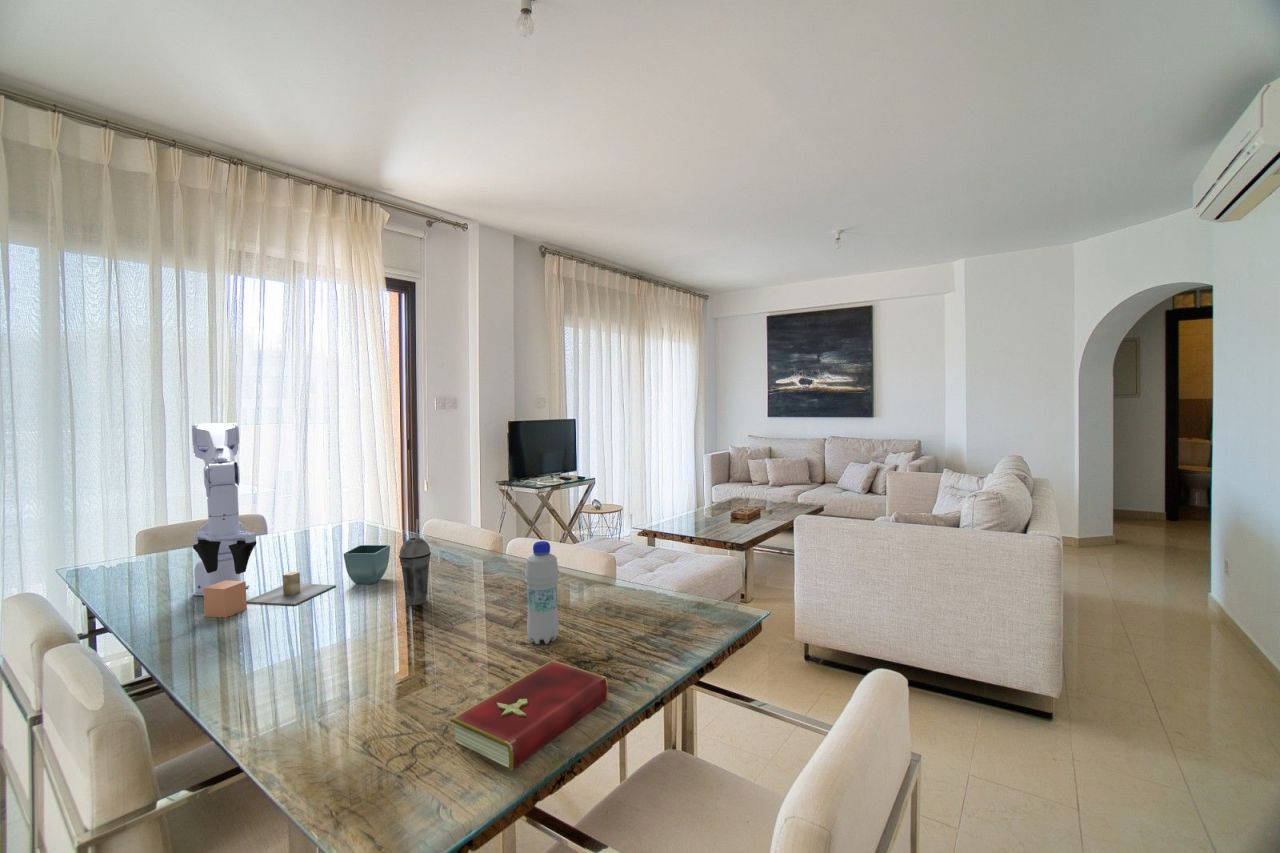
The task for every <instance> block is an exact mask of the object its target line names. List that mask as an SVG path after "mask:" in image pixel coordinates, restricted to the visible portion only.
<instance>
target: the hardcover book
mask: <svg viewBox="0 0 1280 853" xmlns="http://www.w3.org/2000/svg"><path fill="white" fill-rule="evenodd" d="M609 690H610V689H609V682H608V678H607V676H604V675H601V674H598V673H595V672H592V671H589V670H585V669H582V668H579V667H576V666H573V665H571V664H566V663H564V662H562V661H561V662H560V661H557V660H554V659H551V660H550V661H548V662H546V663H544V664H543V665H541V666H540V667H539V666H538V667H537V668H536V669H534V670H532V671H531V672H528V673H527V674H525V675H523V676H522V677H520V678H519V679H517V680H514V681H513V682H512V683H509V684H508V685H506V686H505V687H502V688H501V689H499V690H498V691H496V692H494V693H492V694H491V695H489V696H487V697H486V698H484V699H482V700H480V701H479V702H476V703H475V704H473V705H472V706H470V707H468V708H466V709H464V710H462V711H461V712H459V713H458V714H456V715H454V716H452V717H451V718H450V722H451V723H454V736H455V743H457V744H459V745H461V746H462V747H463V746H464V747H465V748H467V749H469V750H472V751H473V752H475V753H478V754H480V755H482V756H483V757H486V758H487V759H489V760H491V761H493V762H496V763H498V764H499V765H502V766H504V767H506V768H508V770H509V772H510V771H511V770H512V771H514V770H515V769H516V768H518V767H520V765H521V764H523V763H524V762H526V761H527V760H528V759H530V758H531V757H532V756H534V755H535V754H537V753H538V752H539V751H540V750H542V749H543V748H545V747H546V746H547V745H548V744H550V743H551V742H552V741H553V740H555V739H556V738H558V737H559V736H560V735H562V734H563V733H564V732H566V731H567V730H568V729H570V728H571V727H572V726H574V725H575V724H576V723H577V722H579V721H580V720H582V719H583V718H585V717H586V715H588V714H590V713H592V711H593V710H595V709H596V708H598V707H599V706H600V705H602V704H603V703H604V702H606V701H607V700H608V699H609V693H610V692H609ZM514 768H515V769H514ZM512 771H511V772H512Z"/></svg>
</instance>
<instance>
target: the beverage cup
mask: <svg viewBox="0 0 1280 853" xmlns="http://www.w3.org/2000/svg"><path fill="white" fill-rule="evenodd" d="M415 520H416V521H415V522H416V525H415V537H411V538H408V539H407V540H406V541H404V542H403V544H402V545H401V546H400V549H399V554H398V558H399V564H400V566H401V573H402V579H403V588H404V596H405V600H406V605H408V606H418V605H422V604H425V603H426V602H427V598H428V587H429V586H428V585H429V584H428V583H429V571H430V570H429V568H430V567H429V566H430V562H431V555H432V553H431V548H430V546H429V544H428V542H427V541H426V540H424V539H422V538H421V537H420V538H419V535H418V534H419V523H420V522H419V519H418V518H416V519H415Z"/></svg>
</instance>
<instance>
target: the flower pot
mask: <svg viewBox="0 0 1280 853" xmlns="http://www.w3.org/2000/svg"><path fill="white" fill-rule="evenodd" d="M390 551H391V545H390V544H376V545H375V544H365V545H364V544H363V545H362V544H360V545H357V546H356V547H353V548H351V549H350V550H347V551H345V552H344V553H343V559H344V566H345V568H346V573H347V575H348V577H349V578H350V580H351V581H352V583H354V584H356V585H363V584H365V585H372V584H373V585H374V584H375V583H377V582H378V581H380V580H381V579H382V578H383V577H384V575H385V573H386V571H387V569H388V566H389V561H390V554H391V553H390Z"/></svg>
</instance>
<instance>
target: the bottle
mask: <svg viewBox="0 0 1280 853" xmlns="http://www.w3.org/2000/svg"><path fill="white" fill-rule="evenodd" d="M532 546H533V547H532V551H533V554H532V555H530V556H528V557H527V558H526V559H525V560H526V562H525V571H524V576H525V580H524V581H525V583H526V585H527V586H526V587H527V589H526V591H527V592H526V594H527V595H526V596H527V597H526V600H527V621H526V622H527V623H526V632H527V636H528V640H529V641H530V642H531V643H534V644H536V645H539V644H541V640H543V642H544V644H545V645H548V644H549V642H550V641H551V642H554V641H555V640H556V639H557V638H558V634H559V631H560V621H559V612H558V610H559V609H558V581H559V574H560V573H559V566H558V565H559V564H558V561H557V560H558V558H557V557H556V555H554V554H552V553H551V545H550V543H549V541H546V540H540V541H536V542H535V543H534V544H533V545H532Z"/></svg>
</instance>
